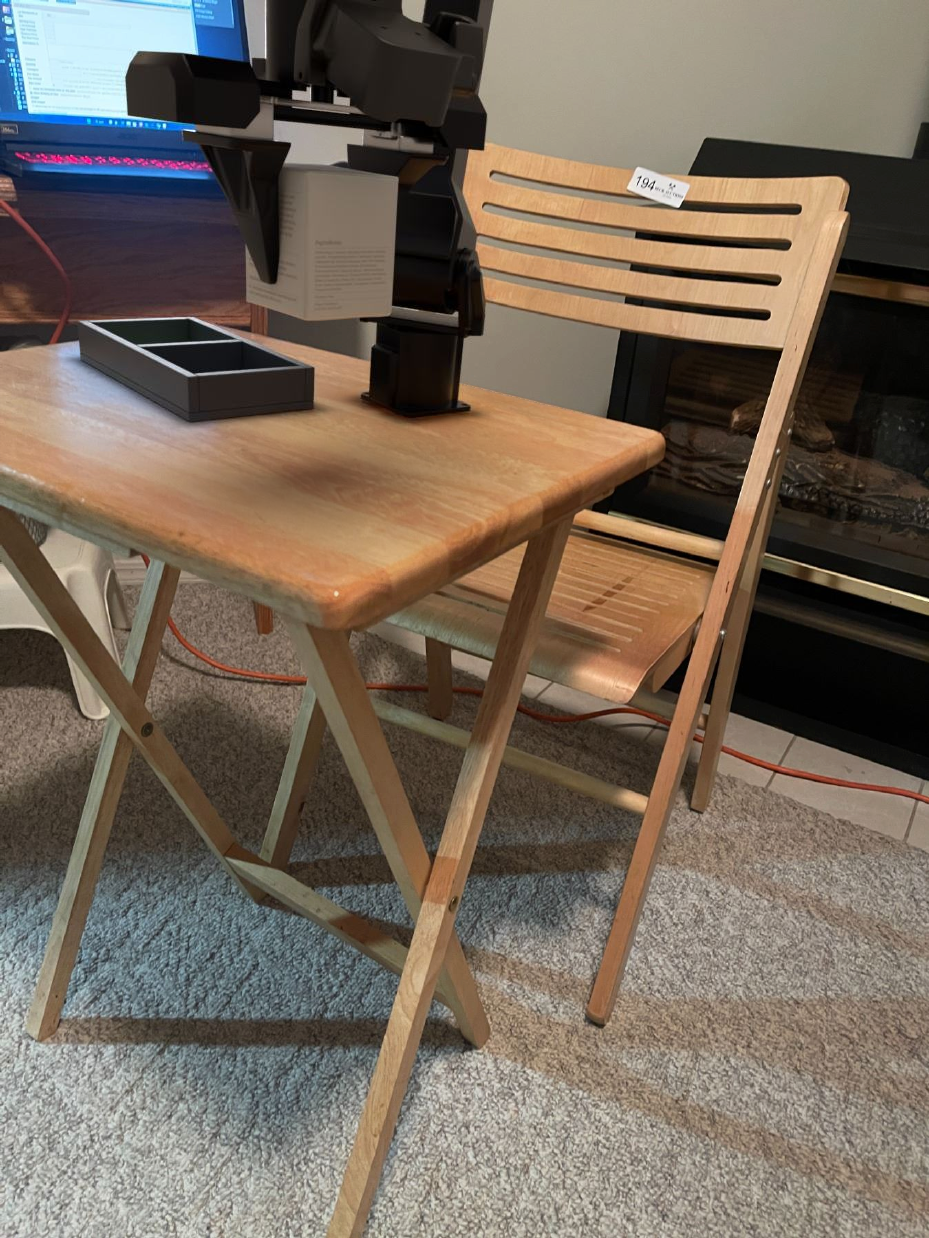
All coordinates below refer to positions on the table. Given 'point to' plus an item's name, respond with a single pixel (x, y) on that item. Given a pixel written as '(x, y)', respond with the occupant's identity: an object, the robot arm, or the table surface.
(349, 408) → the table surface
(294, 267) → the product box
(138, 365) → the divided tray
